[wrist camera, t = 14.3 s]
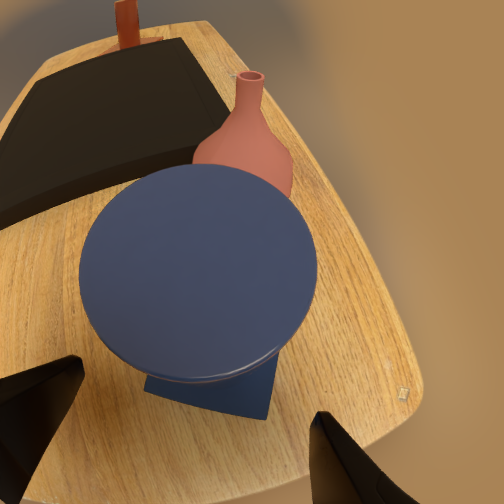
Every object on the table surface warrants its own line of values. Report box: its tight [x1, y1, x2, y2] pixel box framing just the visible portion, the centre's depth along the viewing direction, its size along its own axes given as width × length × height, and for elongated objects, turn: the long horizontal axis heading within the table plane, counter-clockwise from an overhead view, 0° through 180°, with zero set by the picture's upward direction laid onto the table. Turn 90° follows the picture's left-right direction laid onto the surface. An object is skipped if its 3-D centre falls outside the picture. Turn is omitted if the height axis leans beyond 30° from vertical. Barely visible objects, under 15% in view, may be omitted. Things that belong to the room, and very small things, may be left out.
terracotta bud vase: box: [192, 71, 293, 198], centre depth 18 cm, size 8×8×12 cm
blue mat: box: [144, 352, 279, 420], centre depth 17 cm, size 8×8×1 cm
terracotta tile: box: [97, 37, 163, 57], centre depth 45 cm, size 12×12×1 cm
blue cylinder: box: [79, 164, 317, 390], centre depth 11 cm, size 5×5×13 cm
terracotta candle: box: [114, 0, 141, 49], centre depth 37 cm, size 5×5×18 cm
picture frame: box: [0, 37, 231, 230], centre depth 30 cm, size 40×2×33 cm
